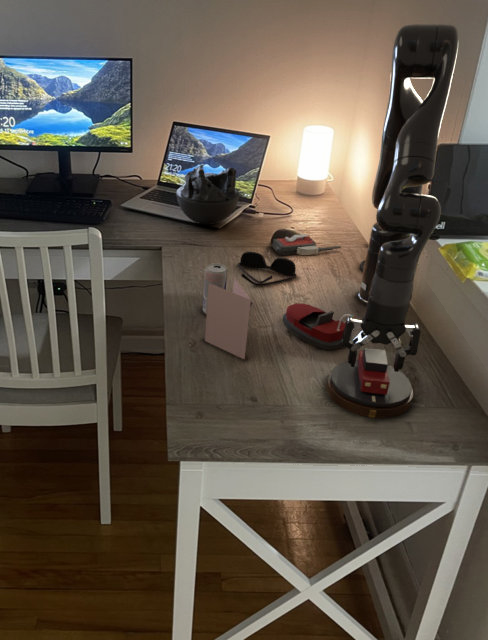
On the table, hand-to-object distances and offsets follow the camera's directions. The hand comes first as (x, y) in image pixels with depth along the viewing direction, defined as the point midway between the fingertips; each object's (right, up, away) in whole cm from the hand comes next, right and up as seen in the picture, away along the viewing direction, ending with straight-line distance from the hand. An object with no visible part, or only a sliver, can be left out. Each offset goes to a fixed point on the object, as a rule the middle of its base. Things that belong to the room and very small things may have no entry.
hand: (373, 367), depth 138 cm
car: (0, -4, +2) cm, 4 cm away
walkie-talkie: (+1, +32, +66) cm, 73 cm away
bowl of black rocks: (-27, +44, +84) cm, 99 cm away
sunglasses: (-15, +22, +48) cm, 55 cm away
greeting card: (-28, +4, +18) cm, 34 cm away
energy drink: (-29, +13, +33) cm, 46 cm away
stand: (0, -5, +3) cm, 6 cm away
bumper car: (-6, +7, +24) cm, 25 cm away
